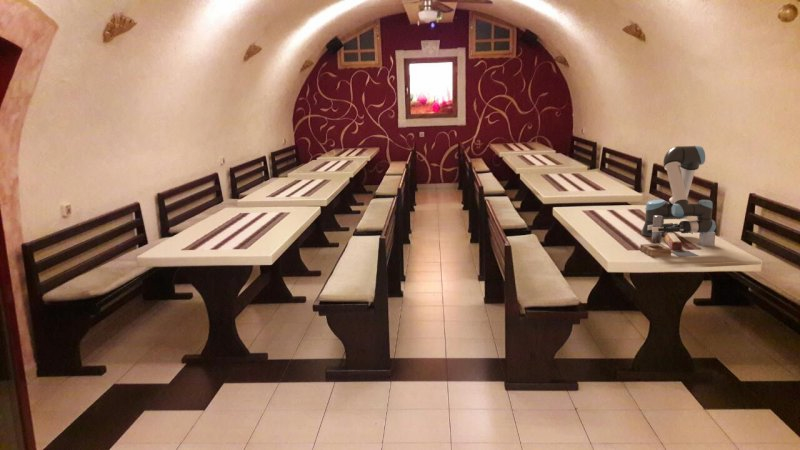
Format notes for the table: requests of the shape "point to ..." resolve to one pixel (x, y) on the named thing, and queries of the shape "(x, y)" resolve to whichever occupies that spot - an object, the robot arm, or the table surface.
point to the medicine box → (707, 239)
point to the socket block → (655, 250)
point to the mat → (683, 253)
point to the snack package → (673, 241)
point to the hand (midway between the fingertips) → (650, 228)
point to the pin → (657, 223)
